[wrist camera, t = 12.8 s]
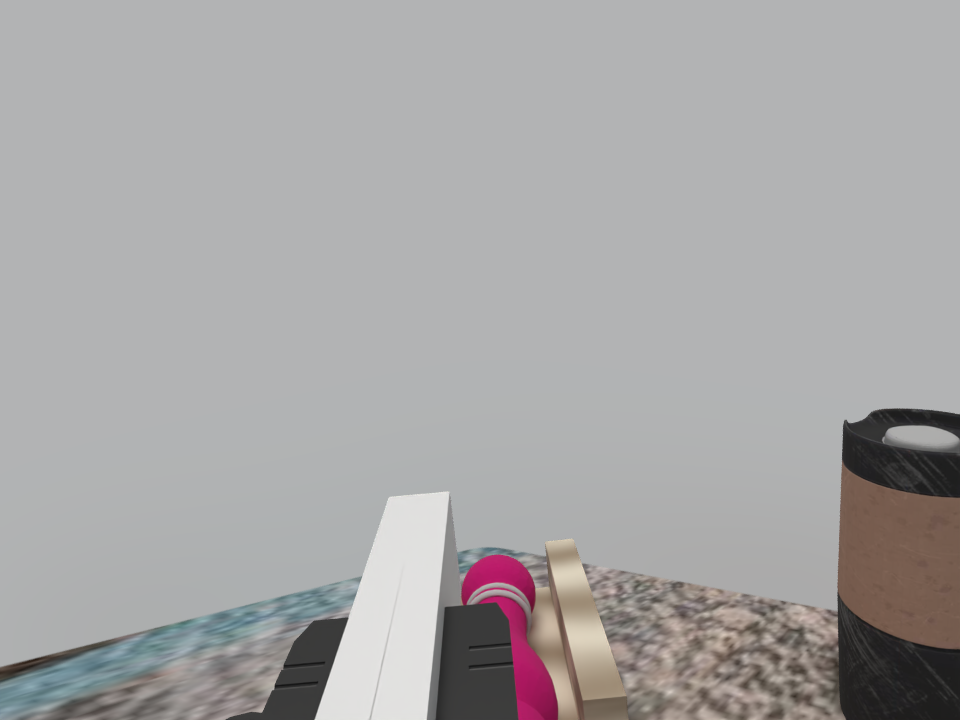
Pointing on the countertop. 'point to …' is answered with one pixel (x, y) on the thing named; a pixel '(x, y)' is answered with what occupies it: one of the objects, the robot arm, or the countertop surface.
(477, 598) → the pepper mill
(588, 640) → the u rest
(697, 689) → the countertop surface
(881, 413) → the travel mug
